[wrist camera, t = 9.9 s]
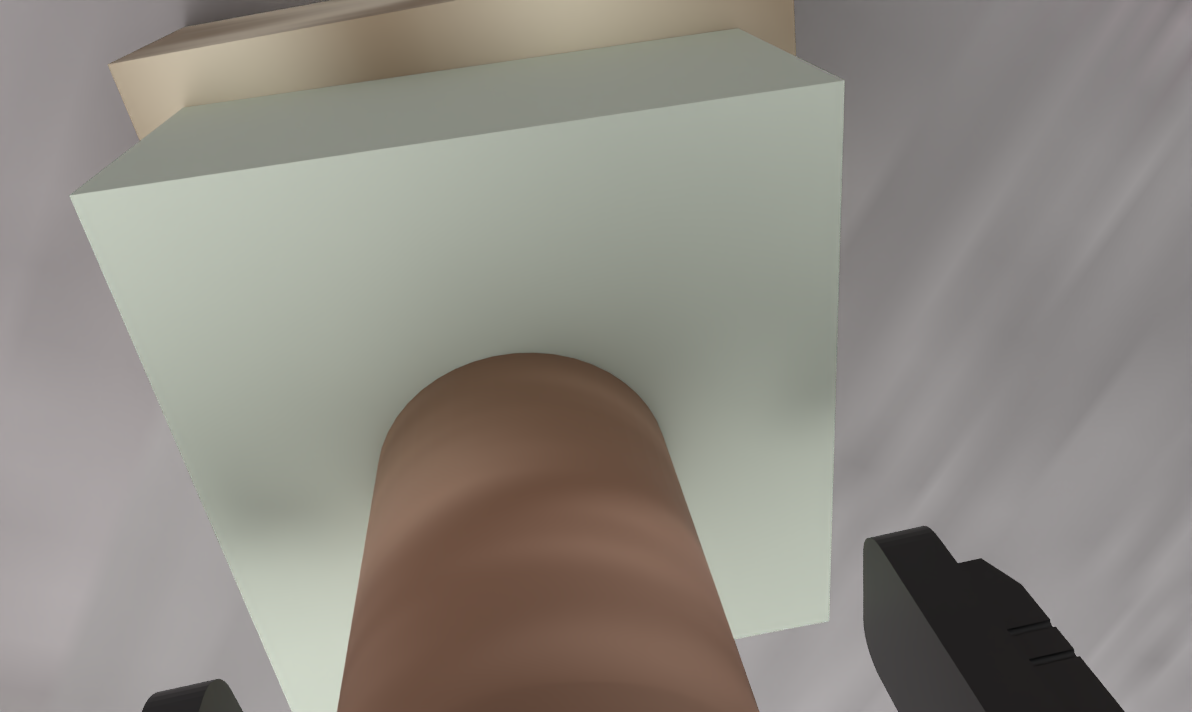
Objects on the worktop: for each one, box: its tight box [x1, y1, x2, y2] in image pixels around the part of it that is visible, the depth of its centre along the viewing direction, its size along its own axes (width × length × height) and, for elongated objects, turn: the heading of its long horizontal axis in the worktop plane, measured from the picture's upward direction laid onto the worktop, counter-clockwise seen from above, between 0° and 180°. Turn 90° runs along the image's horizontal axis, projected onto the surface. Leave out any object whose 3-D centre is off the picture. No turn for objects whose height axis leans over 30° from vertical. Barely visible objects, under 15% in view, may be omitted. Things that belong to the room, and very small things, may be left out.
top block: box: [69, 28, 845, 712], centre depth 16 cm, size 10×10×5 cm
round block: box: [337, 353, 759, 712], centre depth 11 cm, size 5×5×6 cm
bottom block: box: [108, 0, 796, 141], centre depth 20 cm, size 12×12×5 cm
